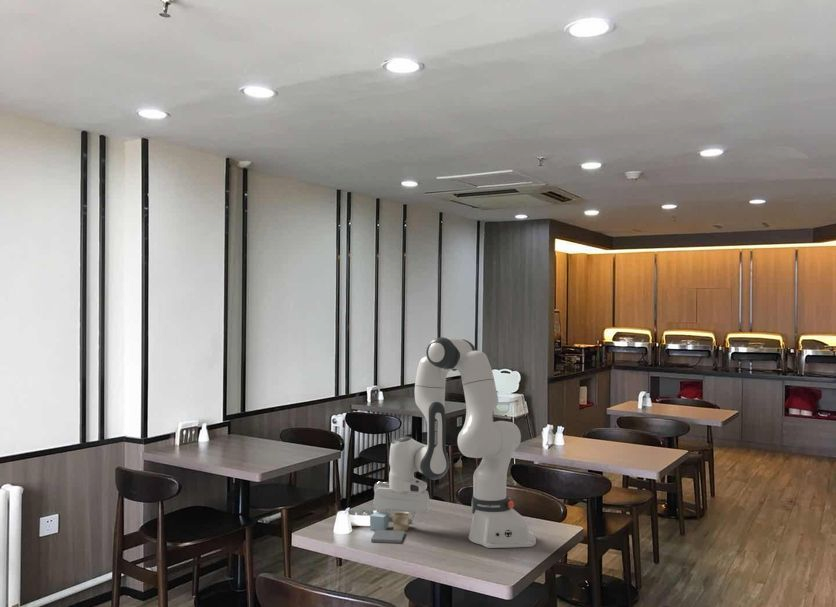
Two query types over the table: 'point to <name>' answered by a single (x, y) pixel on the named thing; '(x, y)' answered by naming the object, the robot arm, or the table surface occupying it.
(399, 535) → the slate coaster
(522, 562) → the table surface
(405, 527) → the birch cube
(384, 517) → the bluegrey cube
